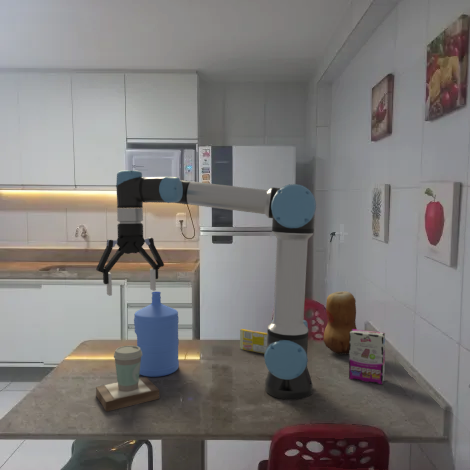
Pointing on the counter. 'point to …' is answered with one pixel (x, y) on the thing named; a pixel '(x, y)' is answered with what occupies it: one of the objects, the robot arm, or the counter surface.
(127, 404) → the walnut plinth
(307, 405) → the counter surface
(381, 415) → the counter surface
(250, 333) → the candy box
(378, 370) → the candy bar box
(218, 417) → the counter surface
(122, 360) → the coffee cup
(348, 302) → the butternut squash
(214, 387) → the counter surface
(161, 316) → the water jug
